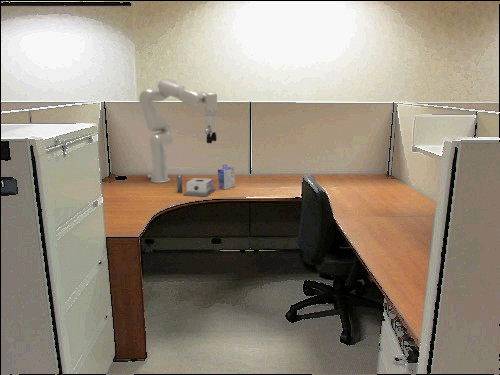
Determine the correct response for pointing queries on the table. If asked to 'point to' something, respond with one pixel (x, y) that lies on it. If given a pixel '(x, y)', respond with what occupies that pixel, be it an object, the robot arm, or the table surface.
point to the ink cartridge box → (226, 177)
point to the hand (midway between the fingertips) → (211, 142)
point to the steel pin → (179, 184)
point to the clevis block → (199, 187)
